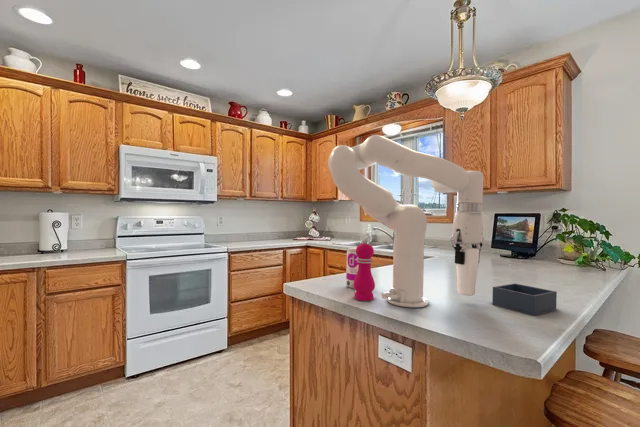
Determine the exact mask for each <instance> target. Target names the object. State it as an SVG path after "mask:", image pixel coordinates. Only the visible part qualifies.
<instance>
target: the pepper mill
mask: <svg viewBox="0 0 640 427" xmlns="http://www.w3.org/2000/svg"><path fill="white" fill-rule="evenodd" d="M361 242H362V243H360V244H358V245H357V246H356V247H357V248H356V254H357V256H358V258H357V259H358V261H357V262H358V272H357V275H356V277H355V279H354V283H353V287H354V288H353V290H355V291H354V299H355V300H357V301H362V302H363V301H364V302H370V301H372V300H374V293H373V292H374V290H375V289H376V282H375V279H374V277H373V274H372V268H371V264H372V263H373V258H372V257H373V256H374V252H375V250H374V247H373V246H372V244H369V243H368V239H367V238H363V240H362V241H361Z"/></svg>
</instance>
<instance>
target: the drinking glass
mask: <svg viewBox="0 0 640 427" xmlns="http://www.w3.org/2000/svg"><path fill="white" fill-rule="evenodd" d="M463 252H465V264H464V265H461V264H456V263H455V267H456V292H457V293H458V294H459V295H462V296H469V297H471V296H475V294H476V284H477V277H478V269H479V264H480V258H479V252H480V251H479V249H476V248H471V247H466V246H465V248H464V251H463Z"/></svg>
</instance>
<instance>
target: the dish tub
mask: <svg viewBox="0 0 640 427" xmlns="http://www.w3.org/2000/svg"><path fill="white" fill-rule="evenodd" d="M557 293H558V292H557V290H556V291H555V290H550V289H547V288H540V287H535V286H531V285H526V284H520V283H508V284H502V285H497V286H496V285H495V286H492V302H491V303H492V305H494V306H498V307H501V308H505V309H508V310H512V311H516V312H520V313H524V314H527V315H531V316H538V315H542V314H545V313H549V312H552V311H556V310H557V299H558V298H557V297H558V296H557Z"/></svg>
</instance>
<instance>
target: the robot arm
mask: <svg viewBox="0 0 640 427" xmlns="http://www.w3.org/2000/svg"><path fill="white" fill-rule="evenodd" d="M376 164H377V165H380V166H381V167H384V168H386V169H388V170H390V171H393V172H394V173H396V174H399V175H401V176H405V177H409V178H410V177H411V178H422V179H425V180H429V181H431V186H432V188H433V189H434V191H435V192H437V193H440V194H449V193H457V194H456V195H457V196H456V212H455V213H454V216H453V217H454V218H453V221H452V222H453V223H452V229H451V237H450V239H449V240H450V241H449V242H450V243H451V245H452V248H453V251H454V264H455V265H456V264H461V265H464V264H465V252H463V251H464V248H465V247H466V245H469V246H470V248H476V249H479V259H480V256H481V255H480V254H481V251H482V247H483V245H484V243H485V241H486V240H485V238H484V222H483V198H484V173H483V172H482V171H480V170H466V169H465V168H464V167H462V166H460V165H459V164H456V163H454V162H452V161H450V160H447V159H445V158H443V157H440V156H436V155H432V154H428V153H424V152H421V151H416V150H413V149H411V148H409V147H407V146H405V145H403V144H400V143H398V142H396V141H394V140H392V139H389V138H387V137H386V136H384V135H380V134H371V136H368V137H367V138H366V139H365V140H364V141H363V142H362V143H360V144H357V145H354V146H351V147H350V146H348V145H345V144H340V145H337V146H335V147H334V148H333V149H332V150H331V152H330V154H329V157H328V159H327V168H328V170H329V171H330V175H331V178H332V181H333V183H334V185H335V186H336V188H337V189H338V191H340V193H342V194H343V195H344V196H346V197H347V198H348V199H350V200H351V201H353V202H354V203H355V204H357V205H359V206H361V208H362V210H363V212H364V213H365V214H366V215H367V216H369V217H370V218H371V219H373V220H375V221H377V222H379V223H380V224H382V225H384V226H385V227H387V228H389V229H390V230H392V231H394V237H393V238H394V239H393V245H392V246H393V247H392V250H393V251H392V254H393V255H392V256H393V258H392V259H393V260H392V266H393V267H392V287H390V289H389V291H384V292H381V294H380V296H381V298H382V299H383V300H385V299H387V302H388V303H389V304H392V305H394V306H398V307H403V308H413V309H414V308H424V307H427V306H428V305H429V300H428V299H427V298H426V297H424V273H425V272H424V266H425V265H424V264H425V263H424V262H425V238H426V232H427V225H428V219H427V216H426V215H427V214H426V213H425V211H424V210H423V209H422V208H421V207H419V206H418V205H415V204H402V203H400V202H399V201H397V199H396V197H395V196H394V194H393V193H392V192H391V191H390V190H388V189H386V188H384V186H383V187H382V186H381V185H379V184H378V183H376V182H374V181H372V180H371V179H369V178H368V177H366V175H364V174H362V172H360V171H361V170H363V169H367V168H369V167H371V166H374V165H376Z"/></svg>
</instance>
